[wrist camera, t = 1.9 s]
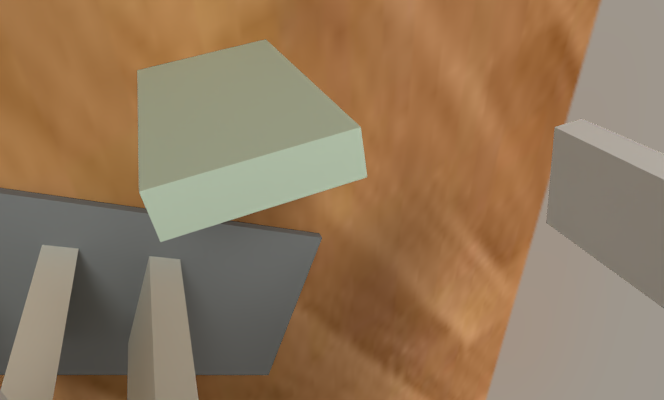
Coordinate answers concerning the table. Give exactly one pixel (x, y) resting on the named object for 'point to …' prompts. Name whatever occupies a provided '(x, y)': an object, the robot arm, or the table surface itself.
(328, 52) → the table surface
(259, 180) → the sage domino
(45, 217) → the mat
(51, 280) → the domino
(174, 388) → the domino
